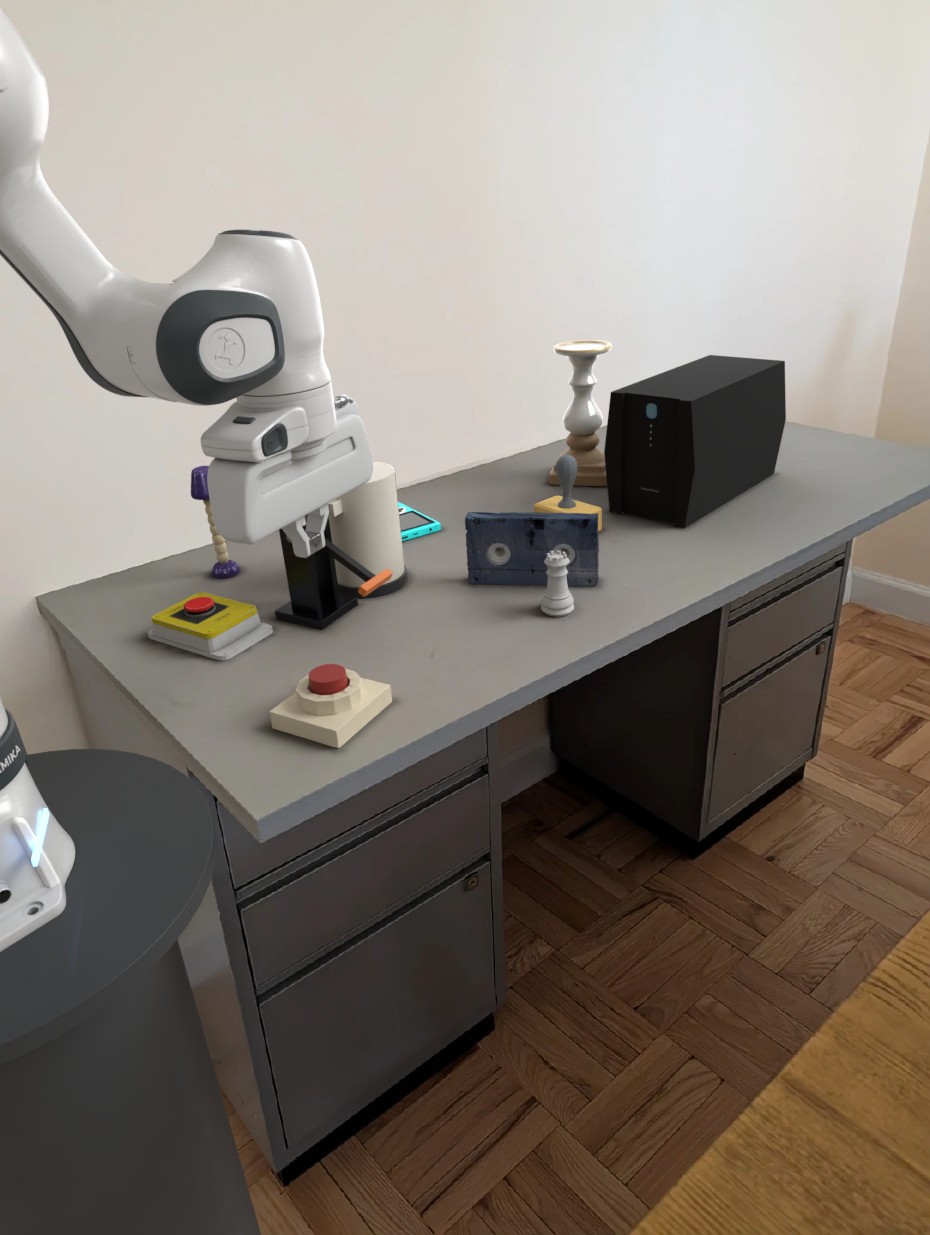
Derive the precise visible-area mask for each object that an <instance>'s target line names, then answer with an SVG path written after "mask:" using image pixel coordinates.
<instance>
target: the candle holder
mask: <svg viewBox="0 0 930 1235" xmlns="http://www.w3.org/2000/svg"><path fill="white" fill-rule="evenodd" d="M612 349H613V345H612V343H611V342H609V341H606V340H598V339H583V340H581V339H580V340H568V341H563V342H560V343H557V344H555V345H554V346H553V352H554V353H555V354H556V355H559V356H564V357H566V358H567V361H568V362H569V364H570V365H571V368H572V373H571V376H570V378H569V379H568V381H567V384H568V385H569V386H570V389H571V391H572V393H573V396H572V399H571V402H570V403H569V405H568V406H567V408H566V410H565V412H564V413H563V417H562V425H563V427H564V429H565V430H566V431H567V432H569V434H568V435H567V436H566V439H565V442H566V445H567V447H568V449H566V450H565V451H562V452H561V453H560V454H559V456H557V459H556V461H555V462H554V465H553V467H552V469H551V470H550V472H549V474H548V484H549V485H553V486H554V485H557V486H561V485H560V483H559V480H558V478H557V474H556V462H557V460H558V459H559V458H560V457H561V456H563V455H570V456H572V457H574V459H575V460H576V462H577V475H576V478H575V481H574V484H573V486H583V487H584V486H586V487H607V478H606V467H605V456H604V451H603V450H601V449H600V448H598V447H597V446H598V445H599V444H600V442H601V439H600V436H599V435H598V434H597V431H598V430H599V429H601V428H602V426H603V423H604V418H603V417H604V416H603V414H602V411H601V410H600V408H599V407H598V405H597V403H596V401H595V399H594V397H593V391H594V389H595V388H596V387H595V386H596V385H597V384H598V379H597V378H596V376H595V375H594V371H593V369H594V365H595V363H597V360H598V359H599V356H600V355H603V354H607V353H610V351H612Z"/></svg>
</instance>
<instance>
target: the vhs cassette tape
mask: <svg viewBox="0 0 930 1235" xmlns="http://www.w3.org/2000/svg"><path fill="white" fill-rule="evenodd" d="M464 526H465V527H464V528H465V529H464V530H466V532H465V548H466V559H467V562H466V565H467V577H468V578H467V579H468V583H469V584H471V585H483V584H484V585H511V586H512V585H513V586H514V585H516V586H517V585H522V586H527V585H530V586H531V585H533V586H547V582H548V575H547V573H546V571H547V570H548V567H547V565H546V564H545V563H544V561H545V559H546V558H547V553H550V552H551V551H554V554H557V551H561V554H562V552H565V553H566V554H567V558H568V559H569V561H570V562H569V563H568V565H567V566H566V569H567V571H568V573H567V585H568V587H569V586H570V587H572V586H573V587H576V586H577V587H596V586H597V585H598V581H599V562H600V560H599V553H600V548H599V547H600V546H599V545H600V542H599V541H600V540H599V538H600V534H599V533H600V531H598V513H594V514H586V513H534V512H516V511H515V512H513V511H512V512H511V511H510V512H489V511H488V512H487V511H483V512H482V511H467V513H466V515H465V517H464Z"/></svg>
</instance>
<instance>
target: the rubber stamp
mask: <svg viewBox="0 0 930 1235" xmlns="http://www.w3.org/2000/svg"><path fill="white" fill-rule="evenodd" d="M557 459H558V458H557ZM557 459H556V461H557V462H556V461H555V462H556V474H557V478H558V480H559V483H560V485H559V486H560V488H561V490H562V495H554V496H551V497H549V498H546V499H544V500H541V501H538V502H536V503H534V504H533V513H586V514H594V513H598V532H600V531H602V529H603V527H602V526H603V509H602V508H601V507H600V506H597V505H594V504H590V503H587V502H583V501H579V500H577V499H573V498H572V495H571V494H572V490H573V486H574V485H573V484H574V481H575V478H576V475H577V462H576V460H575V459H574V457H572V456H570V455H563V456H561V457H560V458H559V459H558V460H557Z"/></svg>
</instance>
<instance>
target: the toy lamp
mask: <svg viewBox="0 0 930 1235" xmlns="http://www.w3.org/2000/svg"><path fill="white" fill-rule="evenodd" d="M208 468H209V465H200V466H196V467H194V468H193V469H191V473H190V497H191V498H192V499H193V500H195V501H197V500H198V501H202V502H203V505H204V506H205V507H204V510H205V513H206V515H207V522H208V524H209V531H210V534H211V541H212V543H213V544H214V547H213V548H214V552H215V553H216V561H217V562H215V564H214V565H213V566H212V568H211V576H212V577H213V578H216V579H227V578H231V577H234V576H236V575H238V574H239V573H240V572H241V568H240V566H239V564H238V563H237V562H236V561H234V560H232V559H230V556H229V555H230V554H229V553H228V552H227V551H228V547H227V544H226V543H225V542H226V540H225V539H224V538H223V537H222V536H221V535H220V534H219V533H218V532H217V529H216V526H215V523H214V519H213V514H212V509H211V504H210V498H209V491H208V483H207V474H208Z"/></svg>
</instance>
